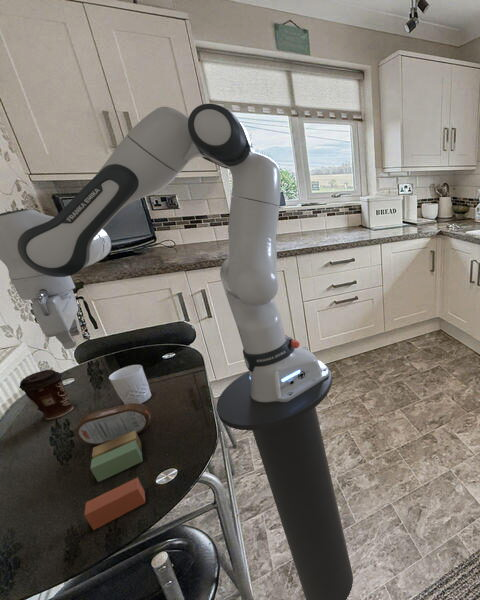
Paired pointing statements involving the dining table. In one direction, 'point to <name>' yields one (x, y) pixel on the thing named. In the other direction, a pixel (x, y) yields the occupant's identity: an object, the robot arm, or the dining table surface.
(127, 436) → the beech block
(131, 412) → the tin
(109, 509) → the terracotta block
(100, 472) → the sage block
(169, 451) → the dining table surface
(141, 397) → the white cup
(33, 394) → the coffee cup
